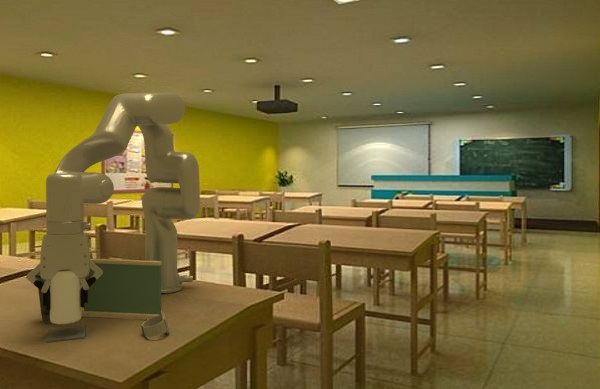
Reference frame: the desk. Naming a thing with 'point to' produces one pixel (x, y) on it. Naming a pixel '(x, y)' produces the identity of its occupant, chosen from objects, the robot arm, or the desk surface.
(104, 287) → the chalkboard panel
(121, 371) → the desk surface
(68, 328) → the grey mat
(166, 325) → the wristwatch
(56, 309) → the can
